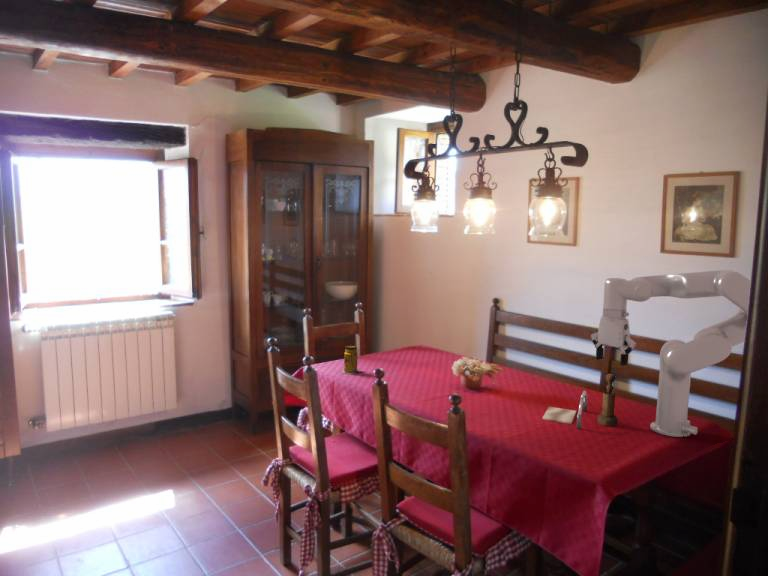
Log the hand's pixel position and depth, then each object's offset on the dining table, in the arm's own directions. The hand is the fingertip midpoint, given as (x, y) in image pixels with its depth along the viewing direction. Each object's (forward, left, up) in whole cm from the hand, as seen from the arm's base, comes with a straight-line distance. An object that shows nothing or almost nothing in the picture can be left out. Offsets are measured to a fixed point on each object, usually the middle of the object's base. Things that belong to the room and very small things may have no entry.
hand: (611, 361), depth 202 cm
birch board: (+14, +9, -22) cm, 28 cm away
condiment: (+104, +44, -23) cm, 115 cm away
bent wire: (+7, +5, -22) cm, 24 cm away
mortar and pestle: (0, 0, -22) cm, 22 cm away
